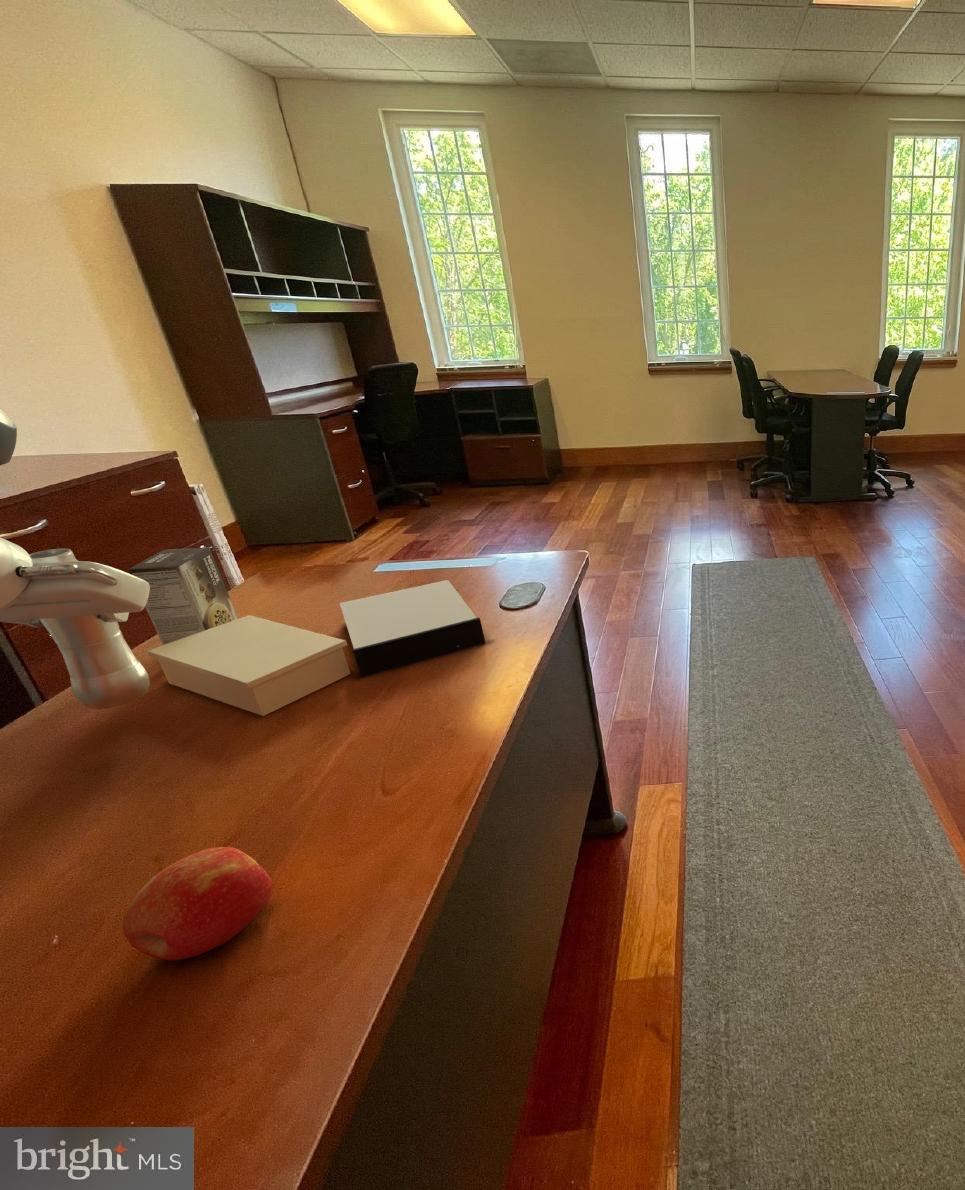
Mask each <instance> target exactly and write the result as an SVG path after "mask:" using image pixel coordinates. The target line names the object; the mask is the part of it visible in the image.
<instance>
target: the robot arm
mask: <svg viewBox="0 0 965 1190" xmlns="http://www.w3.org/2000/svg"><path fill="white" fill-rule="evenodd" d="M17 437H18V428H17V425H16V424H15V423H14V421H12V420H11V419H10V417H9V416H8V415H7V413H5V411H3V410H2V408H0V466H3V465H6V464H8V463H10V462H11V460H12V458H13V455H14V452H15V449H16V445H17ZM149 590H150V586H149V583H148V582H146V581H145V580H143V579H140V578H138V577H136V576H133V575H131V574H130V573H129V572H125V571H124V570H120V569H119V568H115V567H112V566H109V565H106V564H102V563H98V562H93V561H84V560H83V561H82V560H78V561H69V562H50V563H32V560H31V557H30V556H29V553H28V551H26V550H25V549H24V548H23V547H21V546H20V545H18V544H16V543H13V542H11V541H9V540H7V539H5V538H3V537H1V536H0V623H9V624H10V623H11V624H18V625H24V626H29V627H32V628H34V629H41V628H45V626H44V625H43V624H42V623H41V621H40V620H39V619H43V618H57V617H72V616H87V615H101V617H100V619H102V620H105V621H108V622H118V623H124V622H127V621H128V619H129V615H130V613H139V612H142V611H143V610H144V609H145V605H146V603H147V600H148V596H149Z"/></svg>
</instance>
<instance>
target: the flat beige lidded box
mask: <svg viewBox="0 0 965 1190" xmlns="http://www.w3.org/2000/svg"><path fill="white" fill-rule="evenodd" d="M347 645H348V644H347V641H346V639H342V638H338V637H333V636H330V635H326V634H322V633H318V632H315V631H311V630H308V629H303V628H300V627H297V626H292V625H288V624H284V623H281V622H277V621H274V620H269V619H266V618H262V617H259V616H254V615H250V614H248V615H245V616H242V617H240V618H239V617H238V619H236V620H234V621H231V622H228V623H225V624H222V625H219V626H216V627H214V628H211V629H208V630H205V631H202V632H199V633H196V634H194V635H191V636H188V637H185V638H182V639H179V640H176V641H174V642H171V643H168V644H165V645H163V644H161V645H159V646H157V647H153V648H150V649H148V650H147V655H148V656H149V657H153V658H155V659H157V662H158V663H159V666H160V668H161V670H162V671H163V674H164V676H165V678H166V680H167V682H168V684H170V685H173V686H176V687H178V688H181V689H185V690H188V691H190V692H193V693H195V694H199V695H202V696H205V697H207V698H210V699H213V700H216V701H219V702H222V703H224V704H228V705H230V706H234V707H235V708H238V709H242V710H244V711H247V712H250V713H253V714H256V715H258V716H262V717H264V716H266V715H269V714H270V713H273V712H275V711H277V710H279V709H280V708H283V707H285V706H287V705H289V704H292V703H293V702H295V701H298V700H300V699H302V698H304V697H306V696H308V695H310V694H312V693H314V692H317V691H319V690H321V689H322V688H324V687H326V686H329V685H331V684H333V683H335V682H336V681H339V680H341V679H343V678H345V677H347V676H349V675H351V671H350V668H349V665H348V662H347V658H346V655H345V652H344V650H343V648H344V647H346V646H347Z"/></svg>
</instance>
